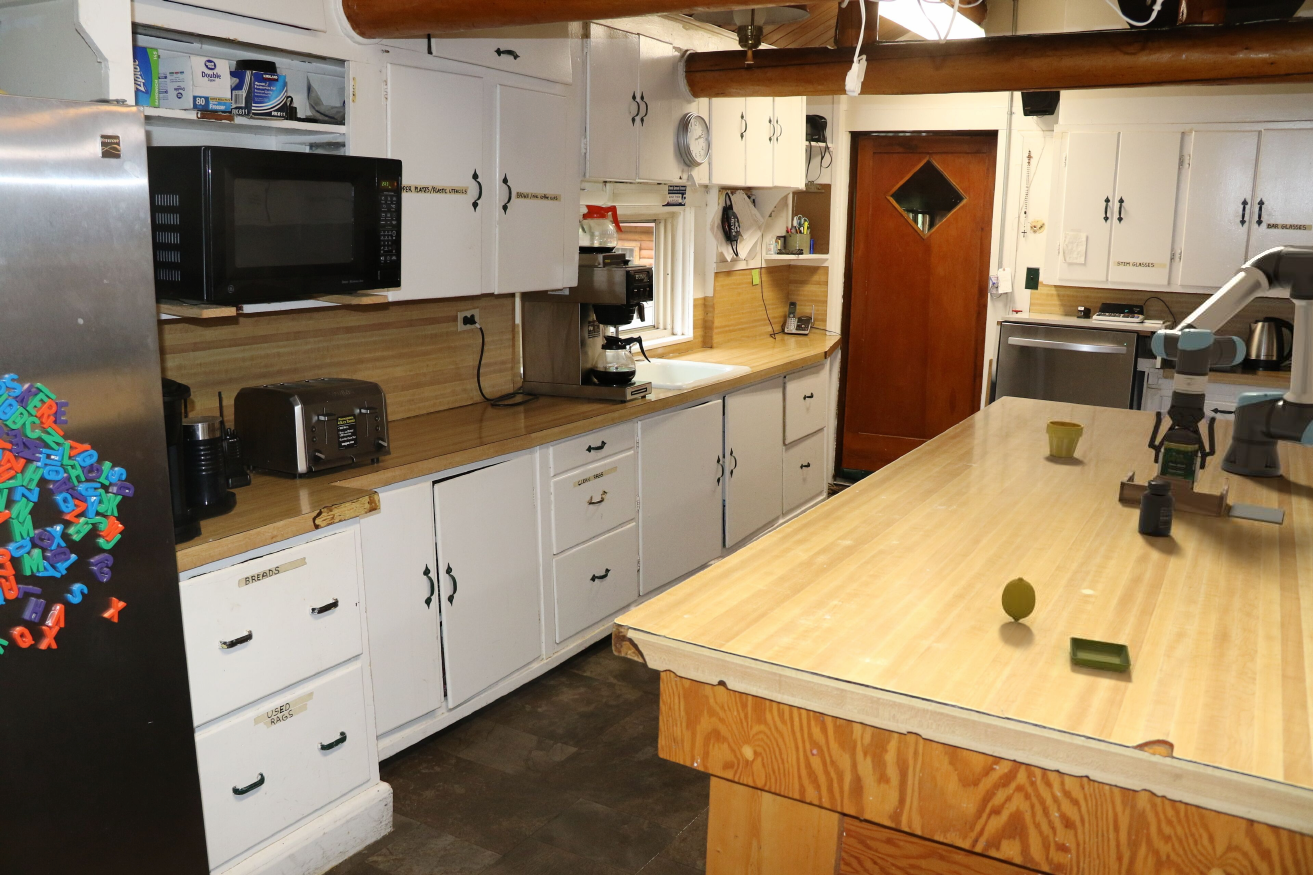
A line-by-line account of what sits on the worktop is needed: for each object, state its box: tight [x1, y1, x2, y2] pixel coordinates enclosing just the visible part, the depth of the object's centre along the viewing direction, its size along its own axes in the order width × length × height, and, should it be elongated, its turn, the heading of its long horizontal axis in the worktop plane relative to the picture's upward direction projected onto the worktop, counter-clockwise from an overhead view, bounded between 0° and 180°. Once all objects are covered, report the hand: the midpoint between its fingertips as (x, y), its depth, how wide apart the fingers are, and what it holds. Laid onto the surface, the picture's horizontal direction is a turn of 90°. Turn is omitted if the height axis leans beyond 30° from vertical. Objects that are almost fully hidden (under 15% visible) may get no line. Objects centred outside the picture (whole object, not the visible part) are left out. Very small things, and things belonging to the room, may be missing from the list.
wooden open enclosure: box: [1118, 469, 1230, 518], centre depth 259 cm, size 16×23×5 cm
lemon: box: [1001, 576, 1037, 622], centre depth 177 cm, size 6×6×8 cm
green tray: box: [1069, 636, 1132, 673], centre depth 162 cm, size 9×9×2 cm
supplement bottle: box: [1137, 478, 1175, 538], centre depth 231 cm, size 7×7×12 cm
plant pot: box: [1045, 420, 1084, 459], centre depth 309 cm, size 10×10×10 cm
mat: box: [1228, 501, 1285, 525], centre depth 251 cm, size 14×11×1 cm
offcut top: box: [1152, 474, 1192, 491], centre depth 255 cm, size 4×8×2 cm, turn 51°
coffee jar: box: [1160, 427, 1200, 491], centre depth 261 cm, size 10×8×19 cm
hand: (1177, 478), depth 262 cm, fingers closed on coffee jar, 8 cm apart
